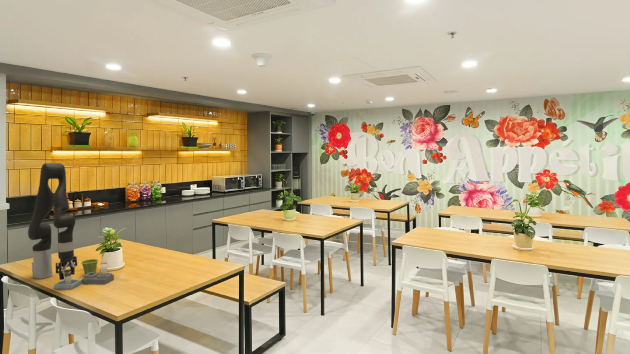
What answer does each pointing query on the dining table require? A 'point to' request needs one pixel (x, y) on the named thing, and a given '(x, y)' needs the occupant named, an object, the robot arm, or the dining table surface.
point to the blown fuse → (67, 276)
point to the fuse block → (97, 278)
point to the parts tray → (67, 286)
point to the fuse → (104, 268)
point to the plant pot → (89, 266)
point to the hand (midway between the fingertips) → (67, 277)
